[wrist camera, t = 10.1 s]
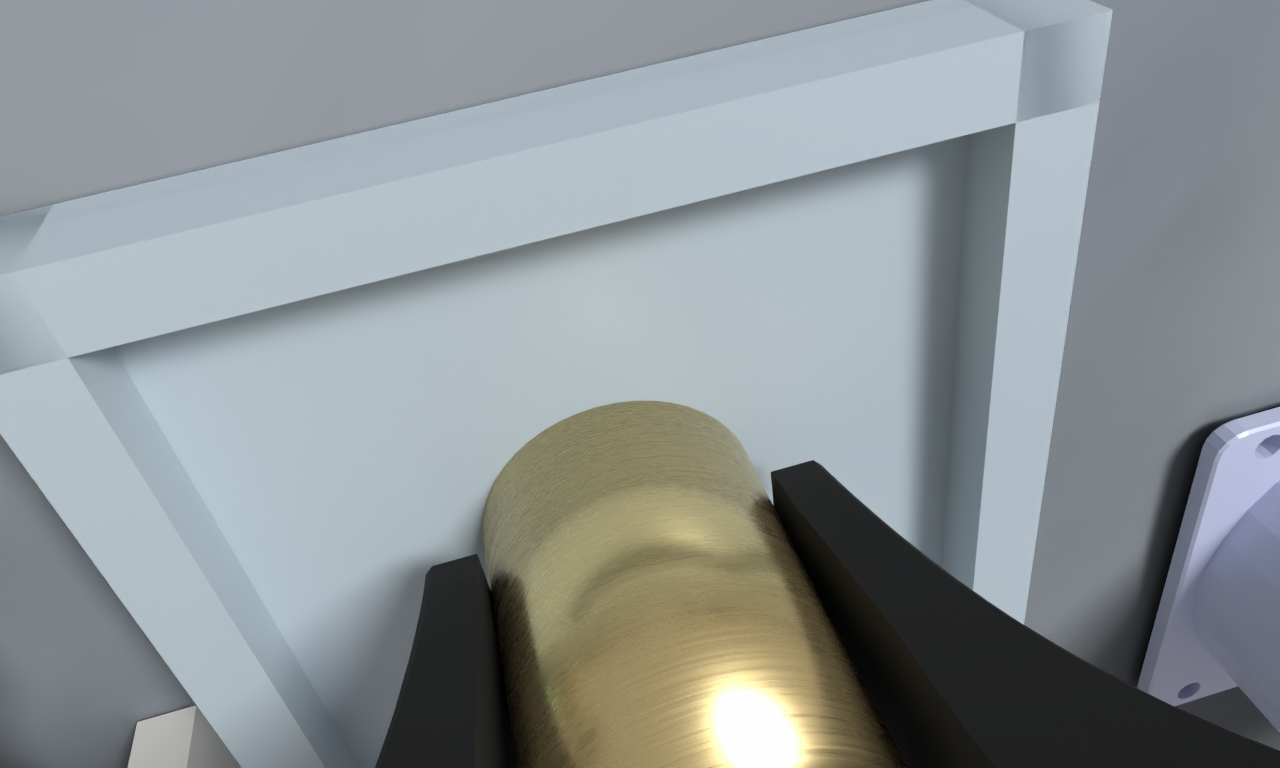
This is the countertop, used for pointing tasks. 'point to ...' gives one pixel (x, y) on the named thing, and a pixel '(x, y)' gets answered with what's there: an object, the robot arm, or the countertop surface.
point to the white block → (179, 742)
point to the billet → (663, 606)
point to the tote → (553, 333)
